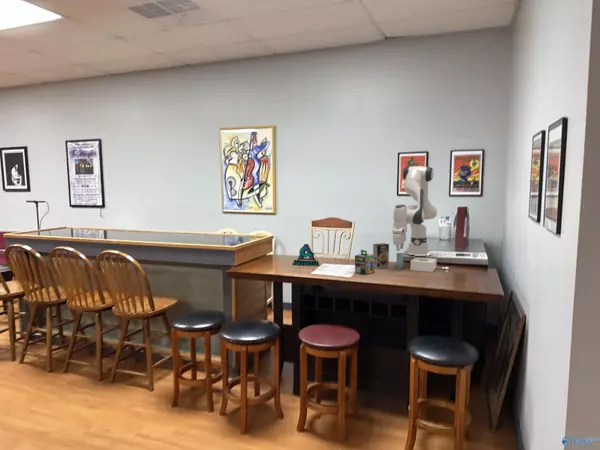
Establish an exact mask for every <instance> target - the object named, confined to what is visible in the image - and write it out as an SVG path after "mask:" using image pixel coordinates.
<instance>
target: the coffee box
mask: <svg viewBox="0 0 600 450" xmlns="http://www.w3.org/2000/svg"><path fill="white" fill-rule="evenodd" d="M372 255H374V269H377V270H378V269H386V268H387V269H389V267H390V266H389V265H390V262H389V261H390V244H389V243H385V242H384V243H372Z"/></svg>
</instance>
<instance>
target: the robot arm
mask: <svg viewBox="0 0 600 450" xmlns="http://www.w3.org/2000/svg"><path fill="white" fill-rule="evenodd" d="M434 176H435V173H434V168H432V167H430V166H422V165H419V166H418V165H415V166H414V165H413V166H405V167H403V170H402V178H403V179H404V184H403V190H404V191H405V193H406V194H407V195H408V196H410V197H412V199H413V200H414V201H416V202H417V203H416V205H415V204H414V205H413V204H412V205H411V204H410V205H405V204H397V205H395V206H394V209H393V224H392V225H393V226H392V227H393V228H392V231H391V233H392V240H393V241H392V243H393V245H395V249H396V251H397V252H400V251H401V250H403V249H404V245H405V242H406V241H407V232H408V224H409V225H410V229H411V230H410V232H411V235H410V236H411V237H410V243H408V247H407V249H408V251H407V253H413V254H426V253H428V251H429V252H430V249H429V244H428V243H427V242H428V238H427V227H426V226H425V224H423V223H424V222H425V220H434V219H435V218H436V216H437V213H438V210H437V208H436V206H434V205H433V204H432V203H431V202H430V199H429V196H428V192H429V190H428V189H429V188H428V187H429V183H428V182H431V181H433V178H434Z"/></svg>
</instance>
